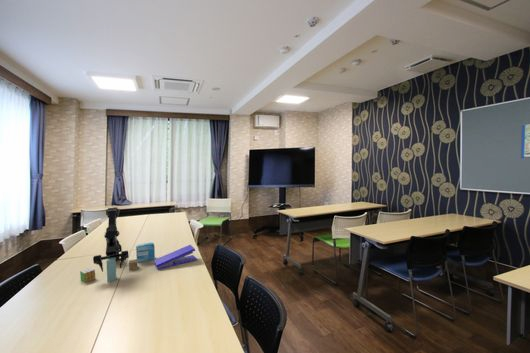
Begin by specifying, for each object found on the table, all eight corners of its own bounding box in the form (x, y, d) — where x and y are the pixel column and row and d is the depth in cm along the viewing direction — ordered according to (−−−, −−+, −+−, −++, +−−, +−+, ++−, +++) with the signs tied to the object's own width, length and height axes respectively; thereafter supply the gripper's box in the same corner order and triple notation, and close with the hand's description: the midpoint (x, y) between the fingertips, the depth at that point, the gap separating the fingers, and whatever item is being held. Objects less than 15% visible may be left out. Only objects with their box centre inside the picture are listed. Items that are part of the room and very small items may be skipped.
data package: (136, 262, 175) (136, 246, 175) (136, 260, 179) (136, 244, 179) (154, 259, 181) (154, 243, 181) (154, 257, 185) (153, 242, 185)
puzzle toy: (84, 282, 147) (84, 273, 146) (80, 280, 150) (80, 271, 149) (95, 278, 152) (94, 269, 151) (91, 276, 155) (90, 267, 154)
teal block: (107, 278, 151) (107, 258, 150) (116, 277, 153) (115, 256, 153) (107, 281, 147) (106, 260, 146) (116, 279, 149) (115, 259, 149)
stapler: (197, 260, 178) (197, 247, 178) (157, 270, 162) (156, 256, 162) (192, 256, 188) (192, 243, 187) (153, 265, 172) (153, 251, 171)
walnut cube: (129, 267, 167) (128, 260, 167) (137, 266, 170) (137, 259, 170) (129, 270, 163) (129, 263, 163) (137, 268, 166) (137, 261, 165)
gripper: (92, 243, 148) (91, 267, 139) (127, 238, 157) (128, 260, 148) (94, 251, 155) (93, 275, 146) (128, 246, 164) (128, 268, 155)
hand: (111, 269), depth 149 cm, fingers open, 9 cm apart
